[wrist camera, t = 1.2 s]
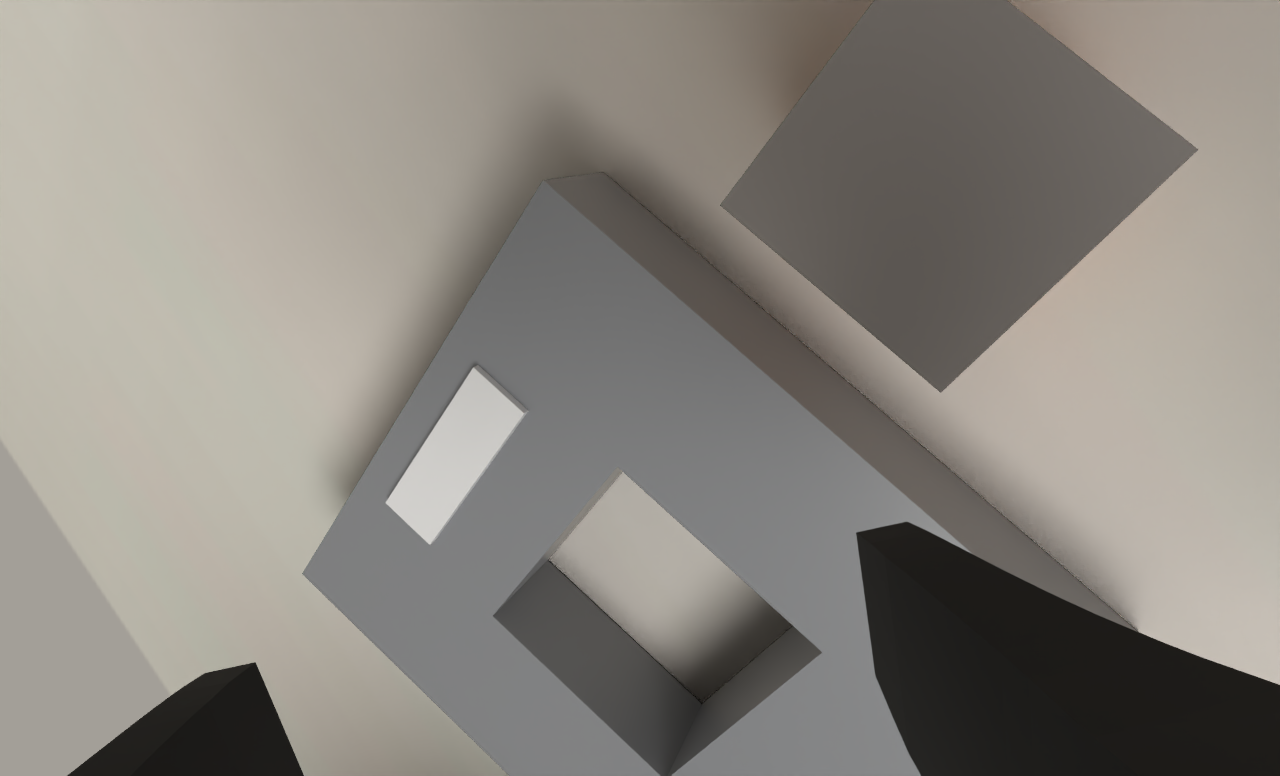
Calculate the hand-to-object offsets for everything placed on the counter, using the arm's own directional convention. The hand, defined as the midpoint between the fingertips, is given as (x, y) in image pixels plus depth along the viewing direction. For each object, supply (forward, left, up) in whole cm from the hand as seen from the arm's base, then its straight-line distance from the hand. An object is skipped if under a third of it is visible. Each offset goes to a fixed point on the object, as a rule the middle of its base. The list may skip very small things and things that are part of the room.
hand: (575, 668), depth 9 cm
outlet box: (+6, +1, -11) cm, 12 cm away
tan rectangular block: (-6, -1, -11) cm, 13 cm away
